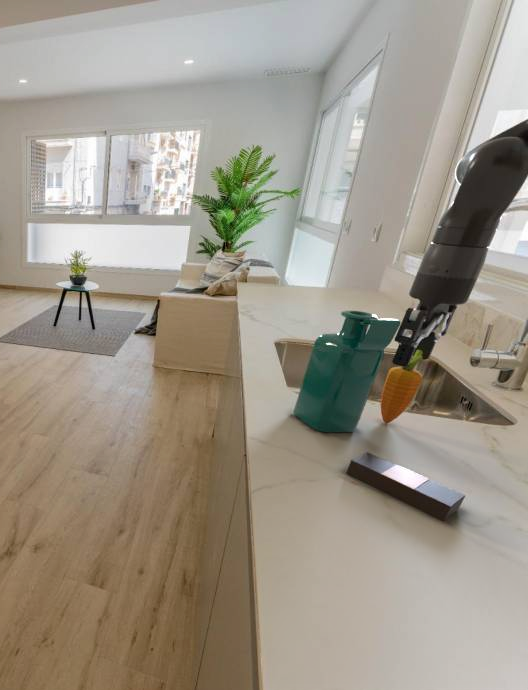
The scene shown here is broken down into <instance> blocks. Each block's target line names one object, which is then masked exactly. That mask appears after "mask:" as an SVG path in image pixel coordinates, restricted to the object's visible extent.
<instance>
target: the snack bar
mask: <svg viewBox="0 0 528 690" xmlns="http://www.w3.org/2000/svg"><path fill="white" fill-rule="evenodd" d="M346 474H348V475H349V476H350V477H354V478H355V479H357V480H359V481H361V482H364V483H365V484H367V485H370V486H371V487H373V488H375V489H377V490H379V491H381V492H382V493H383V492H384V493H386V494H387V495H390V496H392V497H393V498H396V499H398V500H400V501H402V502H403V503H405V504H408V505H410V506H412V507H414V508H415V509H418V510H420V511H422V512H424V513H426V514H428V515H430V516H432V517H434V518H436V519H438V520H439V521H442V522H445V521H446V520H447V519H448V518H450V517H451V516H452V515H453V514H455V513H456V512H457V511H459V509H460V507H461V505H462V503H463V501H464V500H465V497H466V495H465V494H463V493H462V492H458V491H456V490H454V489H452V488H449V487H448V486H445V485H443V484H440V483H438V482H436V481H434V480H432V479H430V478H429V477H426V476H424V475H422V474H420V473H417V472H415V471H413V470H411V469H409V468H407V467H405V466H402V465H400V464H396V463H393V462H391V461H389V460H387V459H384V458H382V457H380V456H377V455H375V454H373V453H370V452H369V451H366V452H364V453H362V454H360V455H358V456H357V457H354V458H353V459H351V460H350V463H349V465H348V467H347V470H346Z"/></svg>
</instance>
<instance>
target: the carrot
mask: <svg viewBox="0 0 528 690" xmlns="http://www.w3.org/2000/svg"><path fill="white" fill-rule="evenodd" d="M422 353H423V352H422V351H421V350H417V351H416V353H415V355H414V356H412V359H411V361H410V363H409V365H408V366H406V367H403V366H394V367H391V368H390V369H389V370H388V372H387V375H386V378H385V381H384V385H383V386H382V390H381V391H382V392H381V398H380V413H381V414H380V415H381V417H382V421H383V422H384V424H388V423H391V422H393V421H394V420H396V419H397V418H399V416H401V415H402V414H403V413H404V412H405V411H406V409H407V408H408V406H409V405H410V403H412V401H413V399H414V397H415V395H416V393H417V391H418V389H419V387H420V385H421V384H422V380H423V377H422V374H421V372H420V371H418V370H416V369H415V367H416V366H417V364H418V363H419V362H420V361H422V360H423V359H422Z"/></svg>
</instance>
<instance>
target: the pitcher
mask: <svg viewBox="0 0 528 690" xmlns="http://www.w3.org/2000/svg"><path fill="white" fill-rule="evenodd" d="M340 315H341V316H342V317H344V321H343V324H342V327H341V329H340V331H338V332H332V333H331V332H329V333H322V334H321V335H319V336H318V337H317V338H316V339H315V341H314V343H313V347H312V349H311V353H310V357H309V360H308V363H307V367H306V370H305V373H304V377H303V380H302V382H301V386H300V389H299V392H298V396H297V399H296V401H295V406H294V409H293V414H294V416H295V417H296V418H298V419H299V420H301V421H302V422H304V423H305V424H306V425H307V426H309V427H310V428H311V429H313V430H316V431H318V432H320V433H321V432H322V433H353V432H356V430H357V428H358V425H359V423H360V420H361V417H362V415H363V411H364V409H365V406H366V404H367V401H368V399H369V396H370V393H371V390H372V388H373V385H374V382H375V380H376V377H377V375H378V372H379V369H380V367H381V365H382V362H383V359H384V357H385V349H386V348H388V346H389V345H390V344H391V343H392V341H393V339H395V337H396V335H397V332H398V330H399V328H400V325H401V323H402V321H400V320H399V319H397V318H379V317H378V316H377V315H376V314H374V313H371V312H366V311H360V310H351V309H350V310H343V311H341V312H340Z"/></svg>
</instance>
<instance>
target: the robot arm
mask: <svg viewBox="0 0 528 690" xmlns="http://www.w3.org/2000/svg"><path fill="white" fill-rule="evenodd" d="M454 177H455V179H456V180H455V181H456V182H457V183H458V184H459V187H458V190H457V193H456V194H455V196H454V199H453V202H452V204H451V205H450V207H449V208H448V209H446V210H445V212H443V214H442V216H441V217H440V219H439V221H438V224H437V226H436V229H435V231H434V234H433V236H432V239H431V242H430V244H429V246H428V248H427V249H426V251H425V253H424V254H423V256H422V260H421V262H420V264H419V267H418V270H417V271H416V274H415V277H414V279H413V282H412V285H411V288H410V290H409V293H408V295H409V296H410V298H412V299H416V300H418V301H419V303H418V304H417V306H416V308H412V307H408V308H407V309H406V310H405V314H404V315H403V318H402V321H401V323H400V326H399V328H398V330H397V332H396V334H395V336H394V342H396V343H397V344H398V346H397V349H396V351H395V354H394V356H393V358H392V360H391V361H392V364H393V365H395V366H398V367H406V366H408V365H409V363H410V361H411V360H412V359H413V357H414V355H415V353H416V351H417V350H421V351H422V352H423V353H422V359H421V360H423V361H424V360H425V361H426V360H428V359H430V356H431V355H432V353H433V350H434V348H435V346H436V343H437V342H438V341H439V340H440V339H441V338H442V337H444V336H445V335H447V330H449V327H450V324H451V322H452V319H453V317H454V315H455V312H456V310H457V309H458V306H459V305H460V306H461V305H464V304H467V302H468V301H469V299H470V296H471V294H472V292H473V289H474V288H475V285H476V283H477V281H478V278H479V276H480V273H481V271H482V269H483V267H484V265H485V262H486V259H487V254H488V252H489V249H490V246H491V244H492V242H493V240H494V238H495V235H496V233H497V230H498V229H499V225H500V223H501V219H502V217H503V216H504V214H505V213H506V211H507V210H508V209H509V207H510V206H511V204H512V203H513V201H514V200H515V199H516V196H517V195H518V193H519V192H520V191H521V189H522V187H523V185H524V184H525V182H526V181H527V179H528V118H526V119H525V120H522V121H521V122H518V123H517V124H515V125H513V126H511V127H509V128H507V129H506V130H504V131H502V132H500V133H498V134H497V135H494V136H492V137H491V138H488V139H487V140H485V141H484V142H482V143H480V144H478V145H476V146H474V147H473V148H472V149H470V150H469V151H468V152H466V153H465V154H464V155H463V156H462V157H461V159H460V160H459V162H458V163H457V165H456V167H455V172H454ZM409 336H410V337H409Z"/></svg>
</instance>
